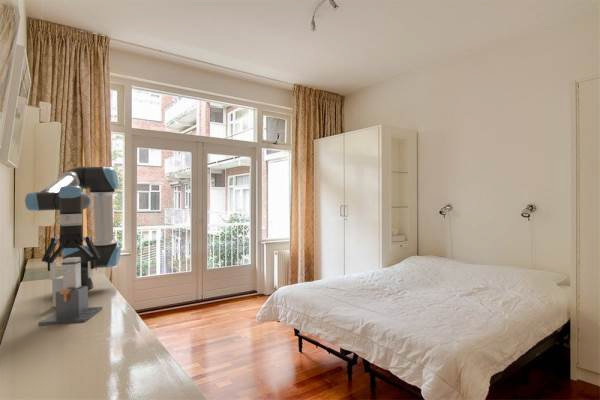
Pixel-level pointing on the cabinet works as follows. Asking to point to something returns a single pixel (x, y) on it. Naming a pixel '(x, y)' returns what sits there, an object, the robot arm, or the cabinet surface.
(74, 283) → the column
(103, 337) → the cabinet surface
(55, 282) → the supplement box
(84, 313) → the stand base
